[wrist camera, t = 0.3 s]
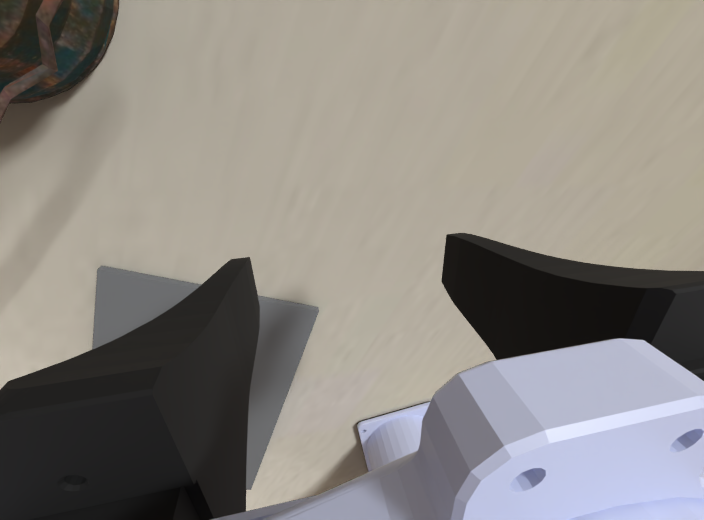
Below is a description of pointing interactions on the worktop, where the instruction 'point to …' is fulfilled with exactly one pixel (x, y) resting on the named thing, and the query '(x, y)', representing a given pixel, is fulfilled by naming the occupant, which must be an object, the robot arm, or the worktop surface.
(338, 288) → the worktop surface
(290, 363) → the mat
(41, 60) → the lantern
